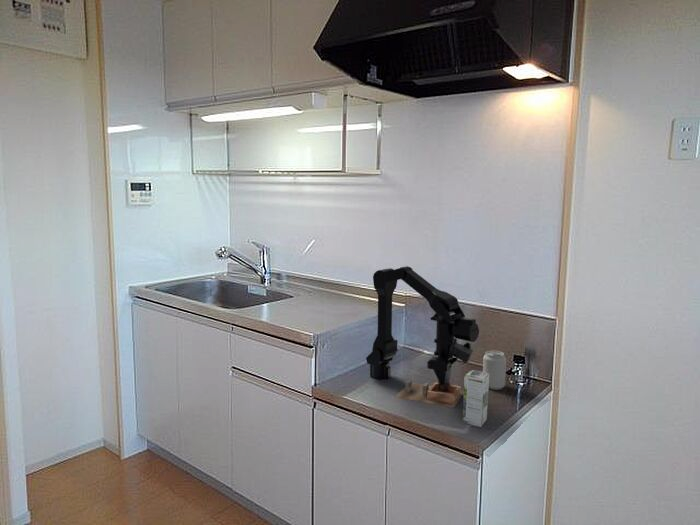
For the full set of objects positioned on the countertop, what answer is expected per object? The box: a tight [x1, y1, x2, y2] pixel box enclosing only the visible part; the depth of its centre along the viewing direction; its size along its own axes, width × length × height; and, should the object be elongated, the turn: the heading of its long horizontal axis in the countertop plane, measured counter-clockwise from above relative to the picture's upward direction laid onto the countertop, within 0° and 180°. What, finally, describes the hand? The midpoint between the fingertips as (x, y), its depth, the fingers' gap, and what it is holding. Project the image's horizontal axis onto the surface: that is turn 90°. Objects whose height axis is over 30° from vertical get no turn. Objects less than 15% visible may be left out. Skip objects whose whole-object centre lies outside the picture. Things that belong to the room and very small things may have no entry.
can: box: [482, 350, 507, 391], centre depth 177 cm, size 8×8×12 cm
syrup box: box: [461, 369, 490, 428], centre depth 150 cm, size 6×6×14 cm
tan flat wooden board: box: [395, 379, 464, 408], centre depth 168 cm, size 19×14×4 cm
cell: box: [437, 363, 452, 393], centre depth 166 cm, size 4×4×10 cm
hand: (444, 382), depth 166 cm, fingers closed on cell, 4 cm apart
